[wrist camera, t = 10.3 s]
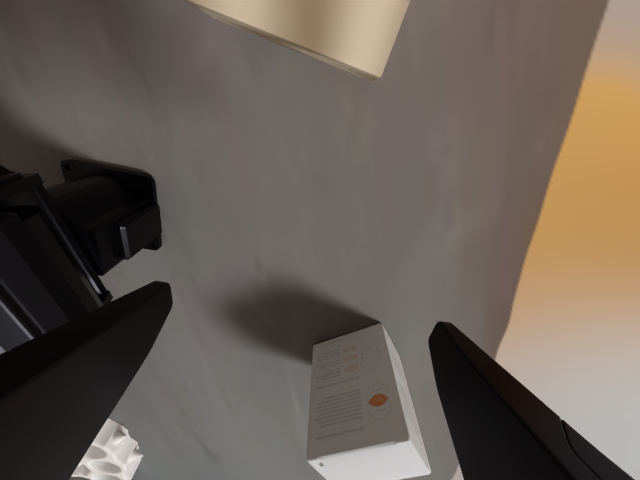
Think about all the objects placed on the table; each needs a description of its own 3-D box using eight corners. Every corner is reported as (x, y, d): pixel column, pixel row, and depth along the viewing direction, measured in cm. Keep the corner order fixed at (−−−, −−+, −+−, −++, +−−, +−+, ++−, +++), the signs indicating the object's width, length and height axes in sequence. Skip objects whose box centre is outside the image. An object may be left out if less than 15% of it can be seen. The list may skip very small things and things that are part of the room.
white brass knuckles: (15, 398, 36) (117, 398, 35) (81, 460, 45) (163, 461, 44) (-12, 425, 33) (97, 425, 32) (63, 486, 42) (151, 487, 41)
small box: (333, 373, 31) (335, 492, 21) (311, 343, 28) (303, 462, 19) (400, 354, 29) (433, 476, 20) (382, 320, 26) (411, 441, 17)
